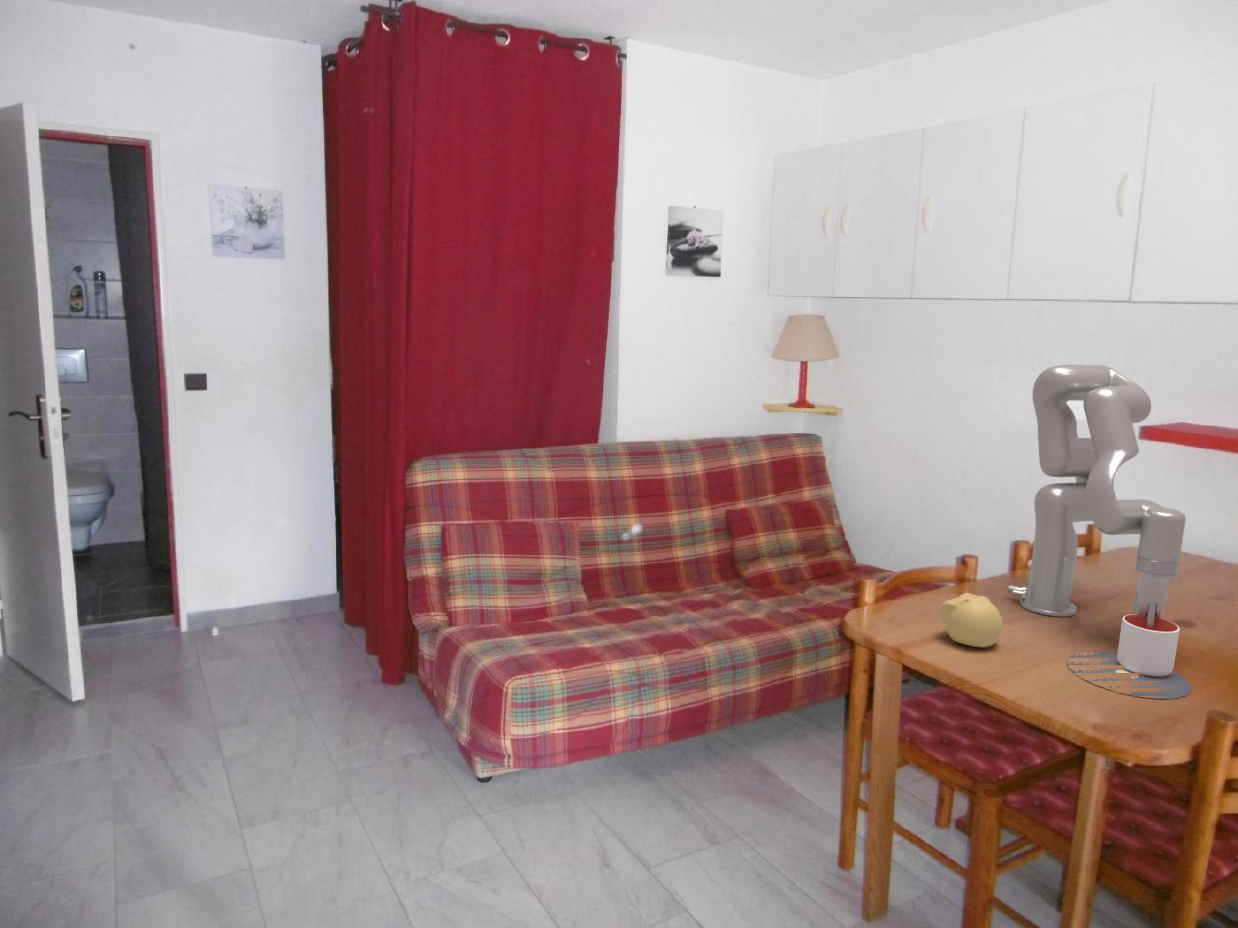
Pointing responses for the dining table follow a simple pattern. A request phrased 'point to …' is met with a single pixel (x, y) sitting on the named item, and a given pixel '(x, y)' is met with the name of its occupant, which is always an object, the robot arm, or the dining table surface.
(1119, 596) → the dining table surface
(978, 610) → the sculpture
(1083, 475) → the robot arm
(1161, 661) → the cup
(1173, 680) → the mat
